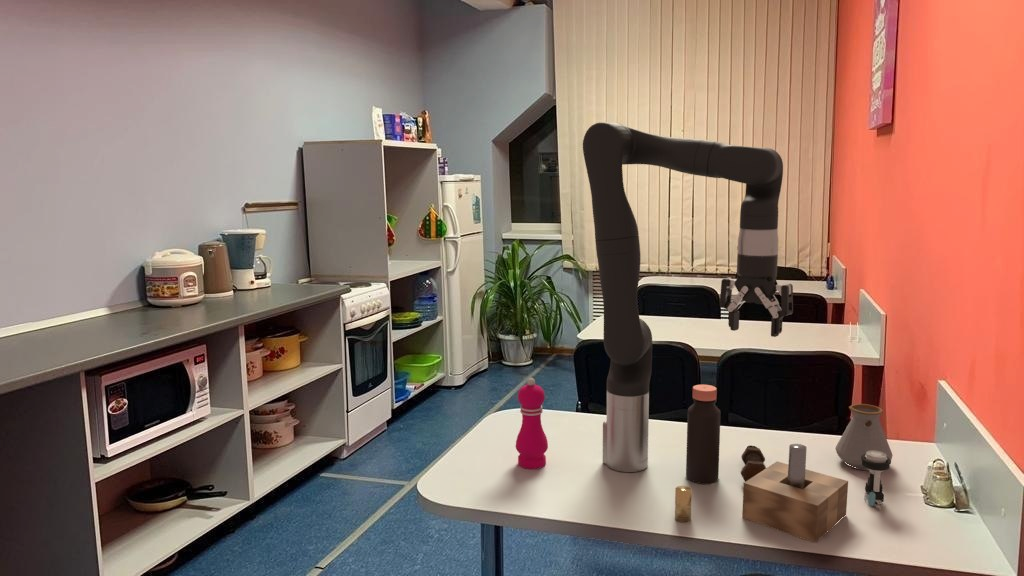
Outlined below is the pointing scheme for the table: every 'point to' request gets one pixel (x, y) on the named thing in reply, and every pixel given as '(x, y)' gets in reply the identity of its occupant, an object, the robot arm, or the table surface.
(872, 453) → the push button
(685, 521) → the short pin
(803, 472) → the long pin
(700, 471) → the bottle
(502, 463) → the table surface
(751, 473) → the bolt
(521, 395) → the pepper mill
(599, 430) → the table surface
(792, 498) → the hole block
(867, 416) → the coffee pot
